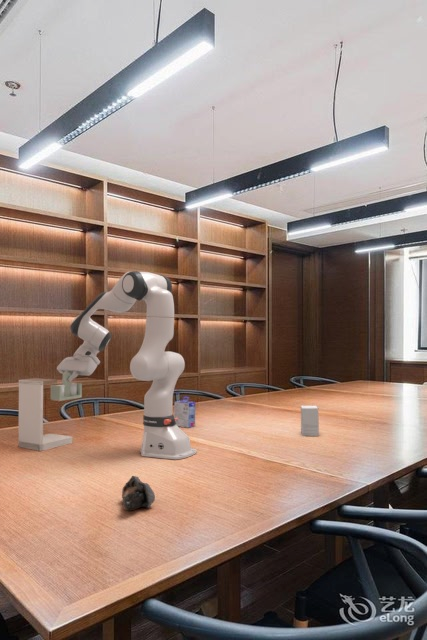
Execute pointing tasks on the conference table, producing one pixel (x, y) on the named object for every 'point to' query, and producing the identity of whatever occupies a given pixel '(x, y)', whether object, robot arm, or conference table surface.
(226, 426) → the conference table surface
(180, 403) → the ink cartridge box
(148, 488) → the bison figurine
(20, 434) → the white c-shaped upright piece
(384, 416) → the conference table surface
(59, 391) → the glass caddy
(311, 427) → the supplement box
